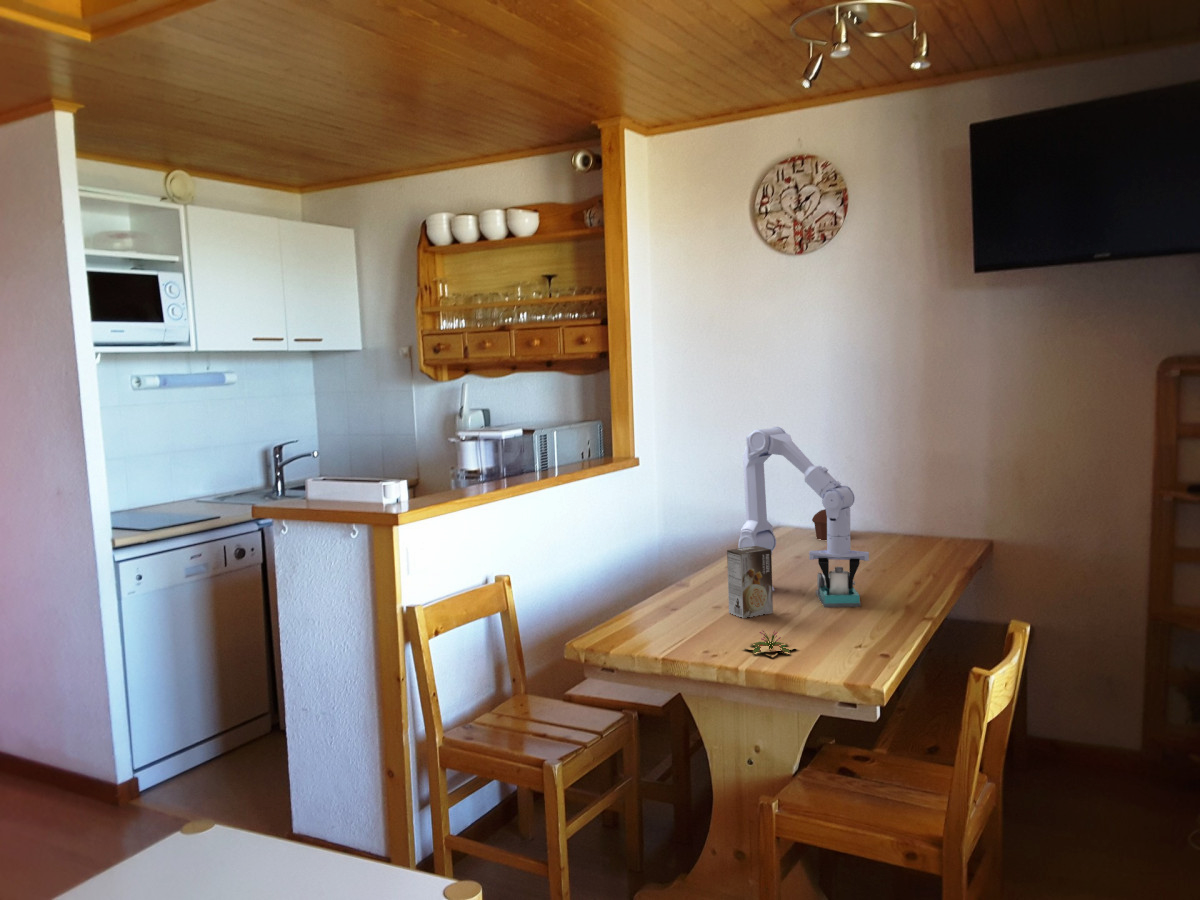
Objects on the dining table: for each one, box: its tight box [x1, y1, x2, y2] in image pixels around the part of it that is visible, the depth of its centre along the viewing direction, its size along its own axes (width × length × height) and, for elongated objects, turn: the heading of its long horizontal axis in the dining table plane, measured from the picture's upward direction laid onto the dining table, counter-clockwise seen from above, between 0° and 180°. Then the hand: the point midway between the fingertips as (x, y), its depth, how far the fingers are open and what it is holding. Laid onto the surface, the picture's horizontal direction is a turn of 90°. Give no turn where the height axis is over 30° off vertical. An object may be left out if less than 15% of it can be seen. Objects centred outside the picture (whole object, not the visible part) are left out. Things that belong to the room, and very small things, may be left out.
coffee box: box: [726, 546, 774, 619], centre depth 236 cm, size 9×6×16 cm
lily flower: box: [751, 629, 791, 655], centre depth 207 cm, size 12×12×5 cm
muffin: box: [811, 508, 827, 541], centre depth 326 cm, size 12×11×10 cm
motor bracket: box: [815, 571, 862, 608], centre depth 246 cm, size 10×14×6 cm
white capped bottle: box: [829, 566, 850, 595], centre depth 243 cm, size 5×5×7 cm
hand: (839, 587), depth 244 cm, fingers closed on white capped bottle, 5 cm apart
